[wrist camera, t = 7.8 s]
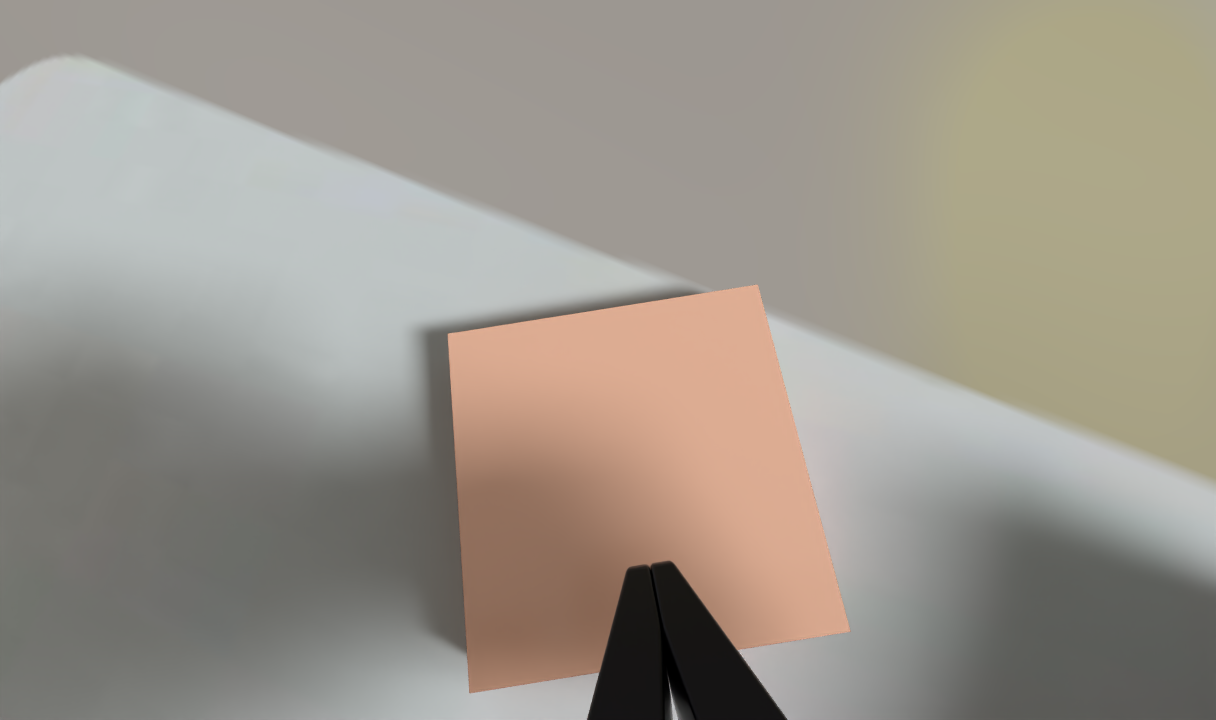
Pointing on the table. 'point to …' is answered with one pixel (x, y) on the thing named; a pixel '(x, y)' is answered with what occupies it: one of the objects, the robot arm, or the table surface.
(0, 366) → the table surface
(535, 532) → the tile
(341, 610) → the table surface
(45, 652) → the table surface
